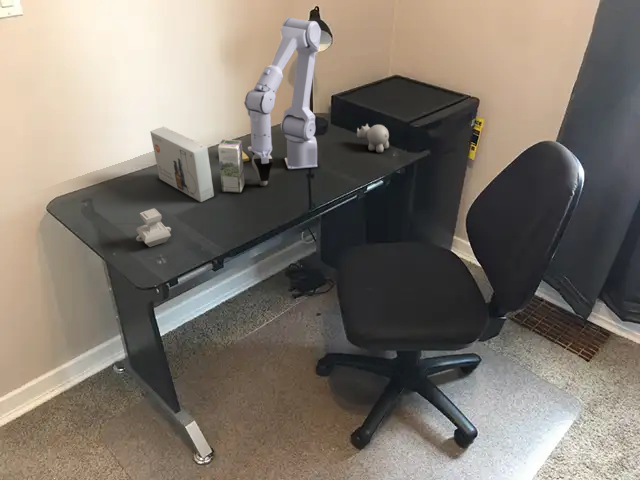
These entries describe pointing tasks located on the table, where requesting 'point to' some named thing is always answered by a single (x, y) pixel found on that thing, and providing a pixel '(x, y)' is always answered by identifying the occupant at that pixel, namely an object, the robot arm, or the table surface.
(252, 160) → the lightbulb
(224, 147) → the syrup box
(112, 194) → the table surface
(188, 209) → the table surface
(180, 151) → the skincare box
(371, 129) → the toy rhinoceros
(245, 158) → the sticky note pad
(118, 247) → the table surface
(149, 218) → the stamp
